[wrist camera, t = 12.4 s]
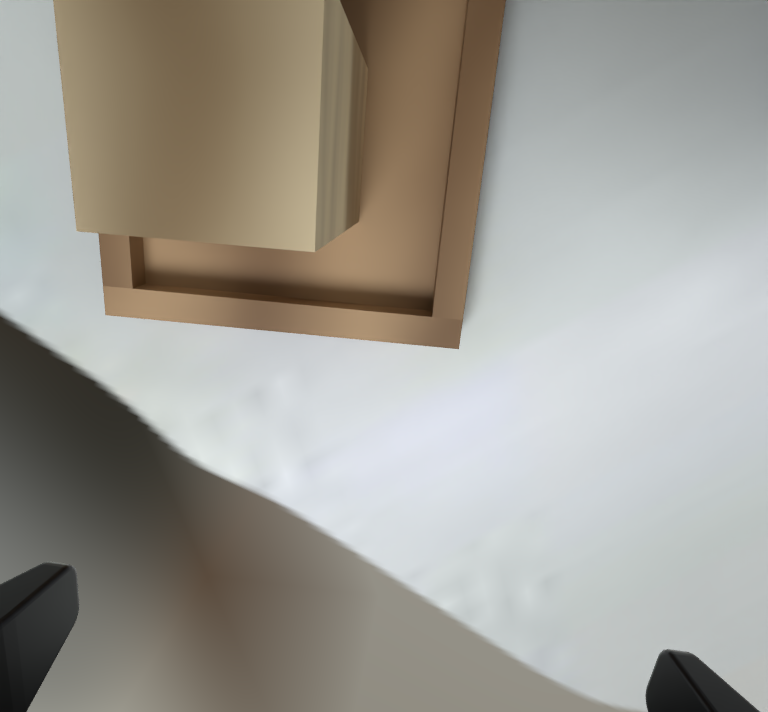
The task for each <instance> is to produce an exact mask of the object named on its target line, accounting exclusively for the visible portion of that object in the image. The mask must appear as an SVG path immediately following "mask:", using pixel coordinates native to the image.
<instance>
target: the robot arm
mask: <svg viewBox="0 0 768 712" xmlns="http://www.w3.org/2000/svg"><path fill="white" fill-rule="evenodd" d="M78 611H79V598H78V584H77V573H76V569H75V568H74V566H72V565H70V564H63V563H56V562H45V563H42V564H40V565H38V566H36V567H34V568H32V569H30V570H28V571H26V572H24V573H22V574H20V575H18V576H16V577H14V578H12V579H10V580H8V581H6V582H4V583H2V584H0V712H27V710H28V708H29V706H30V704H31V702H32V701H33V699H34V697H35V695H36V693H37V691H38V690H39V688H40V686H41V684H42V682H43V681H44V679H45V677H46V675H47V673H48V671H49V669H50V668H51V666H52V664H53V662H54V660H55V658H56V657H57V655H58V653H59V651H60V649H61V647H62V646H63V644H64V642H65V640H66V639H67V637H68V635H69V633H70V631H71V629H72V627H73V626H74V623H75V621H76V619H77V615H78ZM646 705H647V709H648V712H760V711H758V710H757V709H756V708H755V707H754V706H753V705H752V704H750V703H749V702H748V701H747V700H746V699H745V698H744V697H742V696H741V695H740V694H739V693H738V692H737V691H735V690H734V689H733V688H732V687H731V686H730V685H729V684H727V683H726V682H725V681H724V680H723V679H722V678H721V677H719V676H718V675H717V674H716V673H715V672H714V671H713V670H711V669H710V668H709V667H708V666H707V665H706V664H704V663H703V662H702V661H701V660H700V659H699V658H698V657H696V656H695V655H693V654H692V653H689V652H683V651H677V650H670V649H666V650H663V651H662V652H661V653H660V654H659V656H658V659H657V661H656V664H655V667H654V669H653V672H652V675H651V677H650V680H649V683H648V685H647V689H646Z"/></svg>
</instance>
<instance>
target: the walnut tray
mask: <svg viewBox="0 0 768 712" xmlns="http://www.w3.org/2000/svg"><path fill="white" fill-rule="evenodd" d="M340 2H341V4H342V7H343V9H344V12H345V14H346V17H347V19H348V21H349V24H350V26H351V29H352V31H353V34H354V36H355V38H356V41H357V43H358V46H359V48H360V51H361V53H362V56H363V58H364V60H365V63H366V65H367V68H368V80H367V95H366V111H365V127H364V143H363V159H362V175H361V191H360V207H359V222H358V223H356V224H355V225H353V226H352V227H351V228H349V229H348V230H346V231H345V232H343V233H342V234H340V235H339V236H338V237H336V238H335V239H333V240H332V241H330V242H329V243H327V244H326V245H325V246H323V247H322V248H320V249H319V250H317V251H316V252H306V251H295V250H283V249H272V248H261V247H249V246H238V245H227V244H215V243H204V242H193V241H182V240H170V239H159V238H148V237H136V236H125V235H114V234H102V233H99V244H100V256H101V267H102V279H103V291H104V302H105V314H106V315H111V316H121V317H132V318H142V319H152V320H163V321H173V322H184V323H194V324H204V325H215V326H225V327H236V328H246V329H256V330H267V331H277V332H287V333H298V334H308V335H319V336H329V337H339V338H350V339H360V340H371V341H381V342H391V343H402V344H412V345H423V346H433V347H443V348H454V349H459V344H460V336H461V329H462V321H463V314H464V306H465V299H466V292H467V284H468V277H469V269H470V262H471V254H472V247H473V240H474V232H475V225H476V217H477V210H478V202H479V195H480V188H481V180H482V173H483V165H484V158H485V150H486V143H487V136H488V128H489V121H490V113H491V106H492V98H493V91H494V84H495V76H496V69H497V61H498V54H499V46H500V39H501V32H502V24H503V17H504V9H505V2H506V0H340Z"/></svg>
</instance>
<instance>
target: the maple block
mask: <svg viewBox="0 0 768 712" xmlns="http://www.w3.org/2000/svg"><path fill="white" fill-rule="evenodd" d="M53 2H54V12H55V22H56V32H57V42H58V52H59V61H60V71H61V81H62V91H63V101H64V111H65V121H66V130H67V140H68V150H69V160H70V170H71V180H72V189H73V199H74V209H75V219H76V229H77V231H80V232H91V233H102V234H114V235H125V236H136V237H148V238H159V239H170V240H182V241H193V242H204V243H215V244H227V245H238V246H249V247H261V248H272V249H283V250H295V251H306V252H316V251H317V250H319V249H320V248H322V247H323V246H325V245H326V244H327V243H329V242H330V241H332V240H333V239H335V238H336V237H338V236H339V235H340V234H342V233H343V232H345V231H346V230H348V229H349V228H351V227H352V226H353V225H355V224H356V223H358V222H359V207H360V191H361V175H362V159H363V143H364V127H365V111H366V95H367V80H368V68H367V65H366V63H365V60H364V58H363V56H362V53H361V51H360V48H359V46H358V43H357V41H356V38H355V36H354V34H353V31H352V29H351V26H350V24H349V21H348V19H347V17H346V14H345V12H344V9H343V7H342V4H341V2H340V0H53Z"/></svg>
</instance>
